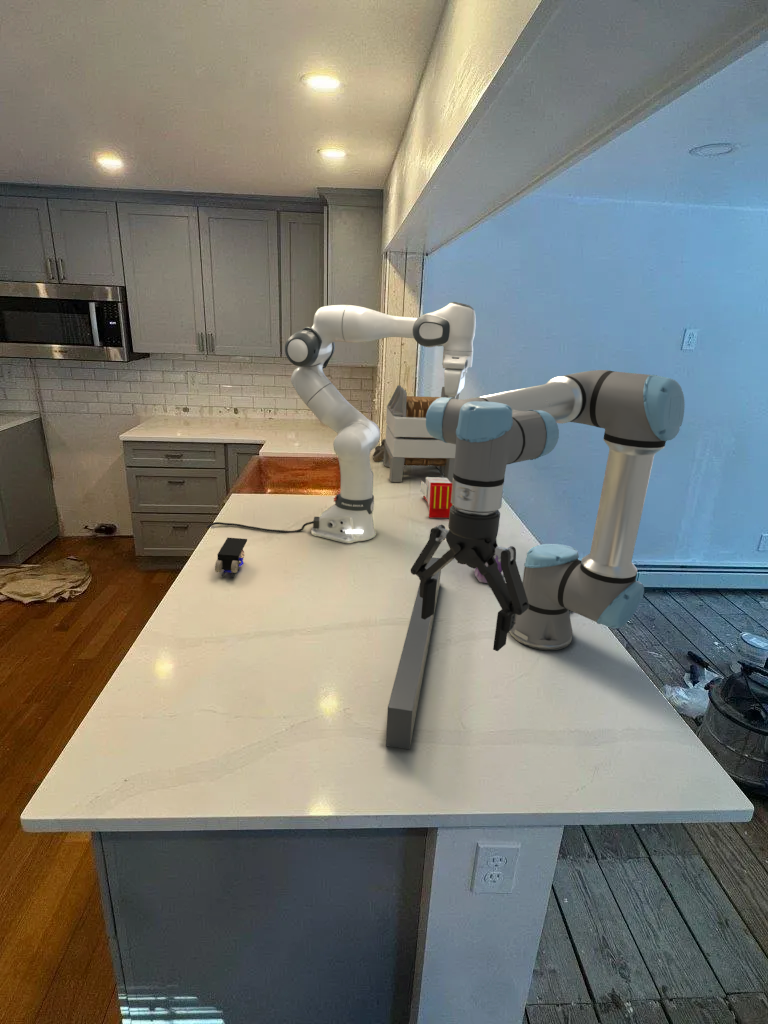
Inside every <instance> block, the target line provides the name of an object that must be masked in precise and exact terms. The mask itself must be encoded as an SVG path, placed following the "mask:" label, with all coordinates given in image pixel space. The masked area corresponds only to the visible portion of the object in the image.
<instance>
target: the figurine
mask: <svg viewBox="0 0 768 1024" xmlns="http://www.w3.org/2000/svg"><path fill="white" fill-rule="evenodd" d="M493 557H494V559H495V560H496V562H497V564H498V570H499V572H500V573H501V574H502V573H503V572H502V568H501V562H499V561H498V556H497V555H496V554H495V555H494V556H493ZM485 565H486V567H487V566H488V563H486V564H485ZM474 578H476V579H477V581H478V582H480V583H484V584H488V582H487V581H486V579H485V577H484V576H483V575H481V574H480V572H479V570H478V568H475V569H474Z"/></svg>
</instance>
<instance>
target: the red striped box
mask: <svg viewBox="0 0 768 1024" xmlns="http://www.w3.org/2000/svg"><path fill="white" fill-rule="evenodd" d="M419 492H420V493H421V494H422V495H423V499H424V500H425V501H426V503H427V504H428V518H434V519H435V518H436V519H437V518H438V519H449V513H450V507H451V506H452V505H453V504H452V503H451V494H452V483H451V482H450V481H449V480H448V479H447V478H444V477H436V476H435V477H434V476H425V482H424V481H423V480H421V481H420V491H419Z"/></svg>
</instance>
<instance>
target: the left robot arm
mask: <svg viewBox="0 0 768 1024" xmlns="http://www.w3.org/2000/svg"><path fill="white" fill-rule="evenodd" d="M476 321H477V320H476V310H475V309H474V307H473V306H471V305H470V304H466V303H463V302H457V301H450V302H449V303H448V304H447V305H445V306H443V307H442V308H441V307H440V308H439V309H437V310H434V311H431V312H427V313H424V314H422V315H420V316H419V317H414V316H413V317H412V316H397V315H392V314H388V313H384V312H381V311H378V310H374V309H372V308H368V307H364V306H360V305H352V304H332V305H325V306H321V307H319V308H318V309H316V311H315V313H314V316H313V324H312V326H305V327H303V328H302V329H299V330H298V331H295V333H293V334H291V335H290V336H289V337H288V339H287V340H286V341H285V346H284V355H285V356H286V358H287V360H288V361H289V362H290V363H291V364H292V365H294V366H295V369H294V370H293V371H292V373H291V375H290V383H291V384H292V387H293V388H294V390H295V392H296V393H297V395H298V396H299V398H300V399H301V400H302V401H303V403H304V404H305V405H306V407H307V408H308V410H310V412H312V413H313V415H314V416H315V417H316V418H317V420H318V421H319V422H320V423H321V424H322V425H323V426H326V427H327V428H330V429H331V430H332V431H334V432H335V433H336V434H337V435H336V436H335V438H334V439H333V451H334V454H335V455H336V456H337V462H338V466H339V473H340V488H339V489H340V490H339V491H338V492H337V494H336V495H335V496H334V497H333V502H334V504H333V505H331V506H329V507H328V508H326V509H325V510H323V512H321V514H320V515H319V516H314V517H313V520H312V521H307V522H306V523H303V524H302V526H301V528H299V529H297V530H282V529H271V528H263V527H257V526H251V525H245V524H241V523H233V522H232V523H231V522H221V521H215V522H211V523H210V524H208V525H207V526H206V528H211V527H212V526H215V525H221V526H233V527H240V528H245V529H251V530H256V531H263V532H269V533H283V534H287V533H288V534H289V533H291V534H292V533H300V532H302V531H303V530H304V529H305V527H306V526H309V525H312V528H311V530H310V533H311V536H315V537H319V538H323V539H326V540H330V541H336V542H339V543H343V544H352V543H357V542H365V541H368V540H372V539H373V538H375V537H376V535H377V532H376V528H375V523H374V513H373V512H374V509H375V496H374V472H373V470H372V464H371V457H370V455H371V452H372V451H373V450H375V447H376V446H378V445H379V442H380V439H381V430H380V427H379V425H377V423H376V422H375V421H373V420H371V419H369V418H368V417H366V415H364V414H363V413H362V412H361V411H359V410H358V409H357V408H356V407H355V406H353V405H352V403H350V402H349V400H347V399H346V398H345V397H344V396H343V394H342V393H341V392H340V391H339V389H338V388H337V387H336V386H335V385H334V384H333V383H332V382H331V380H330V379H329V378H328V377H327V376H326V374H325V372H324V370H323V369H326V368H327V366H328V365H329V362H330V360H331V359H332V357H333V355H334V352H335V350H336V343H337V342H338V343H348V344H360V343H368V342H374V341H378V340H382V339H387V338H403V339H404V338H405V339H414V340H415V342H416V343H417V344H418V345H420V346H422V347H425V348H435V347H442V348H443V351H442V363H441V365H442V368H443V369H444V372H443V374H444V379H443V380H444V382H443V383H444V384H443V387H444V390H445V395H448V398H450V397H453V398H455V399H460V396H461V392H462V390H463V389H464V388H465V381H466V374H468V369H469V368H472V367H473V358H474V345H473V343H474V339H475V336H476V325H477V323H476Z"/></svg>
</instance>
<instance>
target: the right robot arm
mask: <svg viewBox="0 0 768 1024" xmlns="http://www.w3.org/2000/svg"><path fill="white" fill-rule="evenodd" d="M440 397H441V396H440ZM685 402H686V401H685V394H684V392H683V388H682V386H681V384H680V383H679V382H678V381H677V380H675V379H673V378H671V377H666V376H660V375H657V374H647V373H646V374H645V373H635V372H626V371H625V372H624V371H616V370H615V371H613V370H608V369H596V370H594V369H593V370H586V371H581V372H575V373H569V374H564V375H558V376H555V377H552V378H551V379H549V380H548V381H547V382H546V383H544V384H539V385H534V386H529V387H524V388H523V387H522V388H518V389H512V390H508V391H502V392H497V393H492V394H487V395H482V396H477V397H470V398H463V399H461V398H459V399H455V398H453V397H450V398H446V397H441V398H438V399H436V400H435V401H433V402H432V403H431V405H430V406H429V408H428V410H427V414H426V428H427V431H428V433H429V434H430V435H431V436H432V437H433V438H436V439H439V440H442V441H443V442H445V443H451V444H455V445H456V451H455V465H454V473H453V482H452V494H451V503H452V504H453V505H452V506H451V507H450V513H449V518H448V523H447V524H448V525H447V527H448V529H446V527H445V525H444V524H441V523H440V524H439V525H437V526H434V527H432V528H430V532H429V537H428V540H427V542H426V543H425V545H424V547H423V548H422V550H421V552H420V553H419V555H418V557H417V558H416V560H415V561H414V563H413V564H412V567H410V573H411V574H412V575H413V576H415V575H416V576H417V577H418V579H419V580H420V581H419V584H420V592H419V595H420V597H421V598H423V602H422V614H421V618H422V619H424V620H425V619H427V618H428V617H430V616H431V615H433V614H434V607H435V596H436V585H437V579H434V578H433V579H431V577H433V576H434V575H435V574H436V573H437V572H439V571H440V570H441V571H442V570H443V569H444V568H445V567H446V566H447V565H448V564H450V563H451V562H452V561H454V560H456V562H457V564H460V565H465V566H468V567H469V568H472V569H473V570H475V568H478V570H479V572H480V574H481V575H483V576H484V577H485V579H486V581H487V582H488V583H487V584H488V586H489V588H490V590H491V592H492V593H493V595H494V598H495V599H496V601H497V603H498V605H499V606H500V608H501V609H500V610H499V611H498V612H497V616H496V624H495V632H494V640H493V648H492V650H493V651H496V652H499V651H500V650H501V649H502V648H503V647H505V645H507V638H508V633H509V634H510V635H511V637H512V638H513V639H514V640H515V641H517V642H519V643H520V644H521V645H524V646H525V647H529V648H533V649H536V650H540V651H557V650H562V649H565V648H567V647H569V646H570V644H571V643H572V640H573V628H572V621H571V615H570V612H573V613H574V614H578V615H579V616H582V617H584V618H586V619H588V620H590V621H593V622H596V623H597V624H598V625H602V626H604V627H608V628H610V629H613V630H614V629H615V630H616V629H619V628H620V629H621V628H622V627H624V626H625V625H626V624H627V623H628V622H629V621H630V620H631V618H632V617H633V616H634V614H635V613H636V612H637V610H638V608H639V606H640V604H641V602H642V600H643V597H644V593H645V586H644V584H643V583H642V582H641V581H640V580H637V575H638V568H637V566H636V565H635V564H634V563H633V558H634V553H635V548H636V543H637V539H638V534H639V530H640V524H641V521H642V515H643V511H644V505H645V501H646V496H647V491H648V487H649V482H650V479H651V478H650V477H651V474H652V468H653V463H654V460H655V455H656V454H657V453H658V452H660V451H662V450H663V449H665V447H666V443H667V442H668V441H672V440H673V439H675V438H676V437H677V435H679V433H680V429H681V428H680V427H682V424H683V423H684V422H683V421H684V416H685V408H686V407H685V405H686V404H685ZM567 423H574V424H582V425H587V426H592V427H596V428H600V429H604V434H603V438H602V439H603V442H604V443H605V444H606V445H607V447H608V449H609V450H608V454H607V460H606V466H605V469H604V475H603V482H602V487H601V493H600V497H599V504H598V509H597V513H596V519H595V523H594V524H595V525H594V530H593V534H592V535H593V536H592V539H591V544H590V545H591V546H590V550H589V553H588V554H586V555H585V556H583V557H582V558H581V559H579V557H580V554H579V551H578V550H577V549H576V548H575V547H573V546H570V545H566V544H560V543H543V544H537V545H535V546H532V547H531V548H529V550H528V551H527V553H526V557H525V561H524V564H523V574H522V575H523V576H522V577H521V574H520V569H519V567H518V564H517V549H516V547H515V546H512V545H510V546H509V547H505V546H504V547H503V546H499V545H498V543H497V538H498V534H499V528H500V519H501V512H500V509H501V508H502V506H503V505H502V504H503V494H504V484H505V476H506V470H507V466H508V465H511V464H515V463H516V464H517V463H521V462H525V461H533V460H537V459H539V458H540V457H543V456H546V455H548V454H550V453H551V452H552V451H553V450H554V449H555V448H556V446H557V444H558V442H559V438H560V429H559V425H558V424H567ZM444 541H446V543H447V545H448V547H449V550H447V551H446V552H445V553H443V554H442V555H441V557H439V558H440V559H439V560H437V561H436V562H435V563H434V564H433V565H431V566H430V567H429V568H428V569H425V567H426V566H427V564H428V563H429V561H430V560H431V558H432V557H434V555H435V553H436V552H437V550H438V549H439V547H440V545H441V544H442V542H444ZM495 554H496V555H497V556H498V561H499V562H501V568H502V572H501V573H500V572H499V570H498V564H497V562H496V560H495V559H494V557H493V556H494V555H495ZM486 563H488V566H487V567H486V565H485V564H486ZM434 615H435V614H434Z"/></svg>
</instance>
